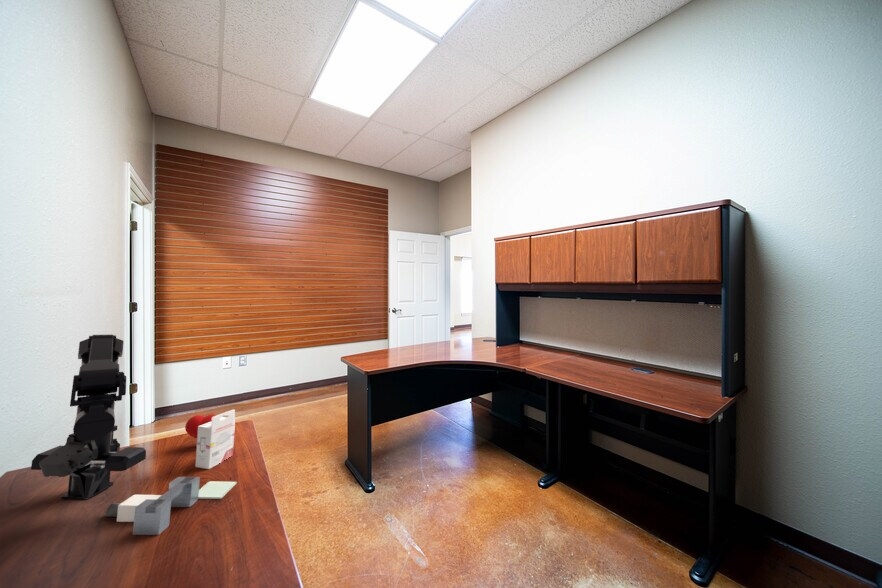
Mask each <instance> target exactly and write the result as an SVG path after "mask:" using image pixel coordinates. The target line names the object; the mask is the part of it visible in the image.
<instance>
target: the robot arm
mask: <svg viewBox="0 0 882 588" xmlns="http://www.w3.org/2000/svg"><path fill="white" fill-rule="evenodd" d="M123 352H124V340H123V339H120V338H118V337H117V335H116V334H115V335H114V334H92V335H89V336H88V338H86V339H84V340H82V341H79V343H78V352H77V359H78V360H81V366H79V371H78V374H74V375H73V379H72V389H71V393H70V394H71V395H70V403H69V407H76V417H75V419H74V420H75V421H74V425H73V429H72V431H73V432H72V433H71V434H68V437H66V442H65V444H64V445H58V446H54V447H53V448H50V449H48V450H45V451H43V452H40V453H38V454H36V455H35V456H34V458H33V459H32V460H31V466H30V467H31V468H30V470H33V471H41V472H42V475H43V477H45V478H49V477H58V478H64V477H67V476H69V478H68V486H67V487H68V488H67V492H65V493H63V494H61V495H60V499H79V500H80V499H84V500H85V499H86V500H87V499H91V498H92V497H94V496H96V495H98V494H99V493H101V492H103V491H104V490H106V489H108V488H110V487H111V486H113V485H114V483H115V482H113V481H111V472H123V471H126V470H129V469H130V468H132V467H133V466H135V465H137V464H139V463H141V462H143V461H144V460H146V456H147V450H146V449H145V448H144V447H140V446H139V447H138V446H137V447H136V446H131V447H130V446H126V447H125V448H123V449H120V447H121V443H119V442H118V439H117V438H118V437H117V438H114V432H115V431H118V425H116V424H115V423H116V419H115V404H116V403H115V402H119V401H122V400H123V396H126V393H127V392H126V391H127V376H126V375H125V372H124V371H120V364H119V358H122V357H123ZM117 392H118V395H117ZM76 397H77V399H76Z"/></svg>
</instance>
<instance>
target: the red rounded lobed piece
mask: <svg viewBox="0 0 882 588" xmlns="http://www.w3.org/2000/svg"><path fill="white" fill-rule="evenodd" d="M214 416H217V415H216V414H208V415H205V416H204V415H200V414H199V415H197V414H196V415H193V416H192V417H190V418H189V419H187V422H186V424H185V425H184V426H185V427H184V428H185V431H186V434H188V435H189V436H190V437H192V438H194V439H196V440H197V436H198V426H200V425H203V424H206V423H208V422H211V421H212V420H211V419H212V417H214ZM196 446H197V442H196Z"/></svg>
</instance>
